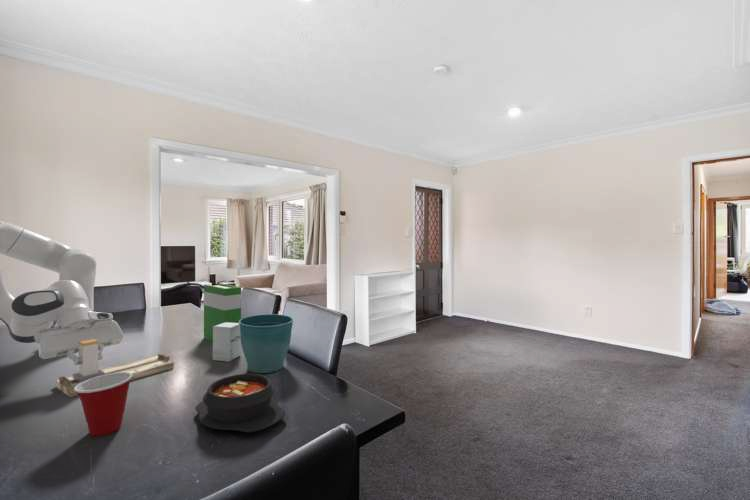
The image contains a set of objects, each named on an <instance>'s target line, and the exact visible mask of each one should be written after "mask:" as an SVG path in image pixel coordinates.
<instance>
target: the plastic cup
mask: <svg viewBox="0 0 750 500" xmlns="http://www.w3.org/2000/svg"><path fill="white" fill-rule="evenodd" d="M131 378H132V373H129V372H118V373H111V374H106V375H102V376H98V377H94V378H91V379H88V380H86V381H84V382H81V383H79V384H78V385H77V386H75V387H74V390H75V392H77V394H78V397H79V399H80V401H81V405H82V409H83V413H84V417H85V422H86V423H87V428H88V433H89V434H90V436H91V437H97V438H98V437H104V436H108V435H111V434H114V433H115V432H117V431H119V430H120V429H121V427H122V423H123V419H124V413H125V411H126V403H127V398H128V392H129V389H130V388H129V387H130V383H131V381H132V380H131Z"/></svg>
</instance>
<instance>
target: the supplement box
mask: <svg viewBox="0 0 750 500" xmlns="http://www.w3.org/2000/svg"><path fill="white" fill-rule="evenodd" d="M241 355H242V345H241V334H240V324H239V323H228V322H224V323H222V324H219V325H216V326H213V342H212V361H218V362H219V361H221V362H231V361H233V360H234V359H236V358H239V357H240V356H241Z"/></svg>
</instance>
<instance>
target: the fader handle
mask: <svg viewBox="0 0 750 500" xmlns="http://www.w3.org/2000/svg"><path fill="white" fill-rule="evenodd" d="M98 353H99V351H98V341H97V340H95V339H89V340H84V341H79V352H78V357H80V356H81V357H82V364H79V365H78V372H75V373H72V376H73V379H75V380H76V381H78V382H79V383H81V382H84V381H86V380H88V379H91V378H94V377H98V376H102V375H105V372H103V371H101V370H100V368H99V360H98Z"/></svg>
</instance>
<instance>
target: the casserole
mask: <svg viewBox="0 0 750 500" xmlns="http://www.w3.org/2000/svg"><path fill="white" fill-rule="evenodd" d="M275 391H276V389H275V386H274V385H273V383H272V381H271V378H269V377H267V376H265V375H262V374H259V373H242V374H241V373H240V374H234V375H230V376H226V377H223V378H220V379H217V380H216V381H213V382H212V383H211V384H210V385H209V386H208V388H207V390H206V392H205V394H203V397H202V401H200V402H199V403H197V404H196V406H195V411H196V412H197V413H198V419H199V422H200V423H201V424H202V425H204V426H205V427H208V428H210V429H214V430H215V429H216V430H219V431H220V430H224V431H225V430H226V431H237V432H244V433H254V432H258V431H262V430H265V429H267V428H269V427H271V426H273V425H275V424H277V423H278V422H280V421H281V420H282V419H283V418H284V417H285V415H286V411H285V410H284V409H283V408H282V407H281V406H280V405H279V403H278V402H277V399H275V398H274V397H273V395H274V393H275Z"/></svg>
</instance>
